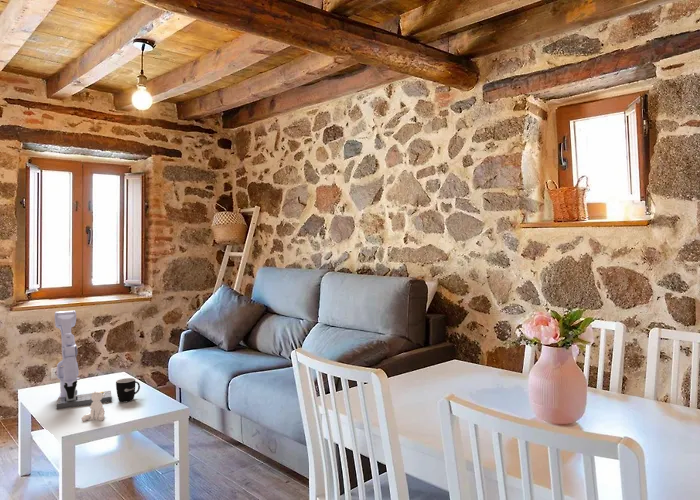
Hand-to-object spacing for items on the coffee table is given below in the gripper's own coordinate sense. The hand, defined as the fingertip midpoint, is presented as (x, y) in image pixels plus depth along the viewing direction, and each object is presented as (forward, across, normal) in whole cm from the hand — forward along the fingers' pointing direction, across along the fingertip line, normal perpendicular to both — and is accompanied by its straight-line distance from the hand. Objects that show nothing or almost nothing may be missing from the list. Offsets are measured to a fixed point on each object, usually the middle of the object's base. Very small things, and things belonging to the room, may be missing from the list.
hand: (71, 397), depth 260 cm
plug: (+3, 0, 0) cm, 3 cm away
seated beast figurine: (+3, -30, -11) cm, 32 cm away
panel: (+3, 0, -6) cm, 7 cm away
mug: (+3, -7, -26) cm, 27 cm away
